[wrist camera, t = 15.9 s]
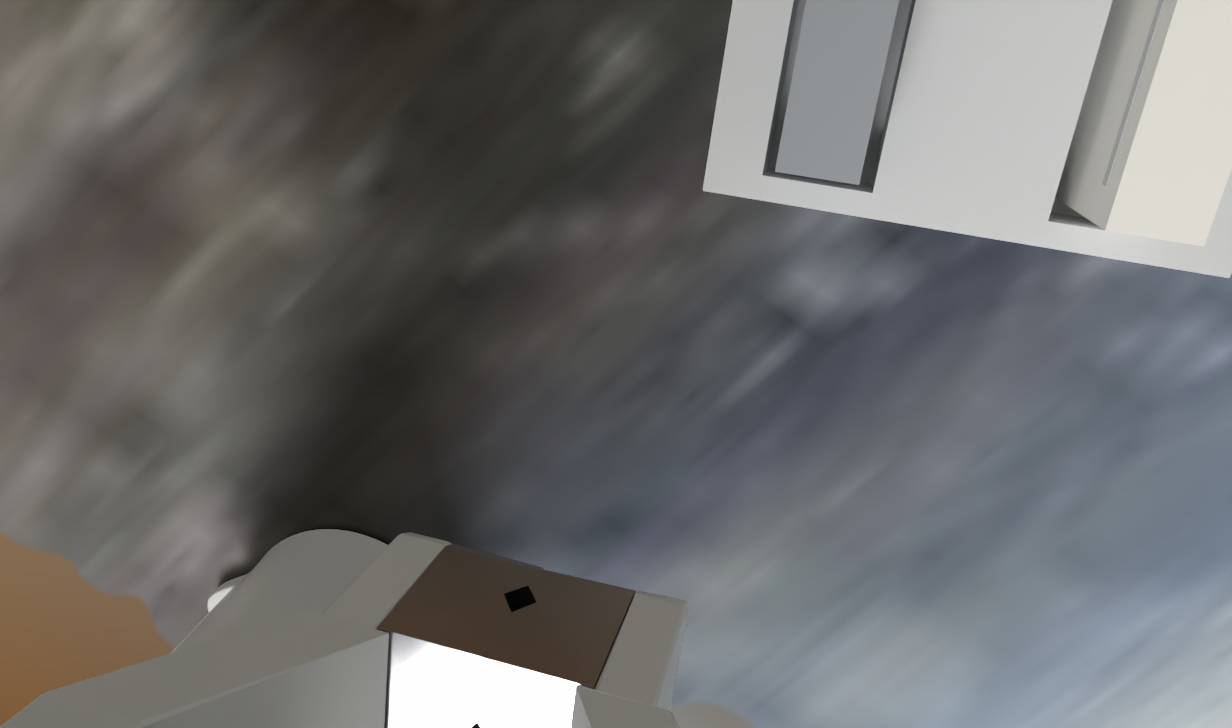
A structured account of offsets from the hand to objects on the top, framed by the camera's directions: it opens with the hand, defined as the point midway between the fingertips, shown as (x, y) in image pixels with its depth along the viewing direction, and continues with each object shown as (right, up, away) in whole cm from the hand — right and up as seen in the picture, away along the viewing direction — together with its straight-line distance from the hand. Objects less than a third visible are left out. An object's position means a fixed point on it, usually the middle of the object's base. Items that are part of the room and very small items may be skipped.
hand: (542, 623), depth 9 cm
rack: (+16, +15, +28) cm, 35 cm away
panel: (+21, +13, +26) cm, 36 cm away
